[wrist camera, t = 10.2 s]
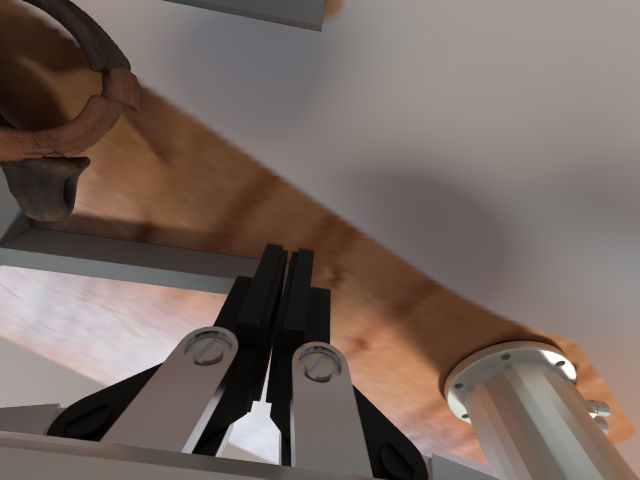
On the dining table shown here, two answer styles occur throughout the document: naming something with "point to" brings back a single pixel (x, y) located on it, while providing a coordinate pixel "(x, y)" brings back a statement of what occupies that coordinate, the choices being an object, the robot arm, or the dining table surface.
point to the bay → (134, 257)
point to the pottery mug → (67, 124)
